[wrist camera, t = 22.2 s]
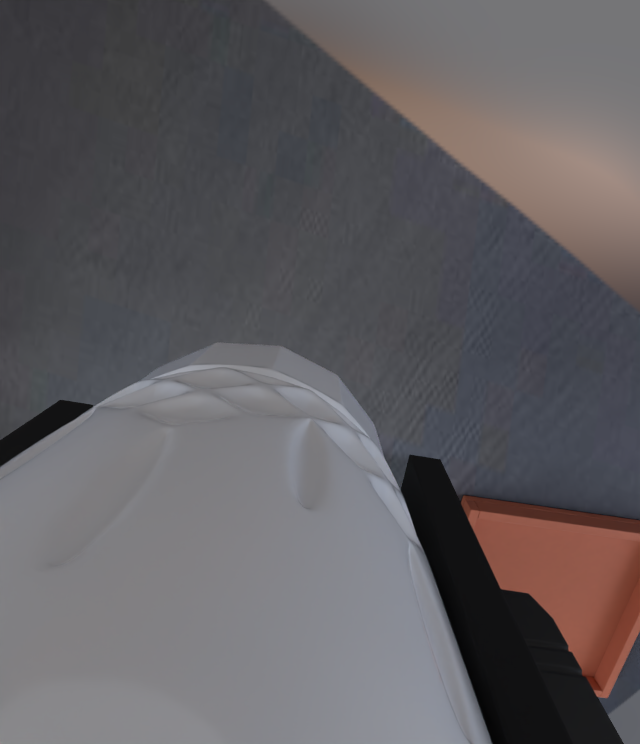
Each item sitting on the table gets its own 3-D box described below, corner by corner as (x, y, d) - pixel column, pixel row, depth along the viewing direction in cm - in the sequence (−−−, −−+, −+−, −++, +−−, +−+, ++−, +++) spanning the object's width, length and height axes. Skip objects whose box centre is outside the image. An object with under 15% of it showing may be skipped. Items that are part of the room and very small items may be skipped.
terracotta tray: (665, 523, 32) (683, 539, 30) (594, 676, 36) (607, 698, 34) (462, 494, 31) (470, 509, 30) (416, 654, 35) (420, 674, 34)
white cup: (460, 497, 12) (922, 1472, 3) (229, 630, 14) (5, 1547, 4) (278, 246, 10) (-342, 546, 1) (33, 433, 12) (-1167, 1295, 2)
